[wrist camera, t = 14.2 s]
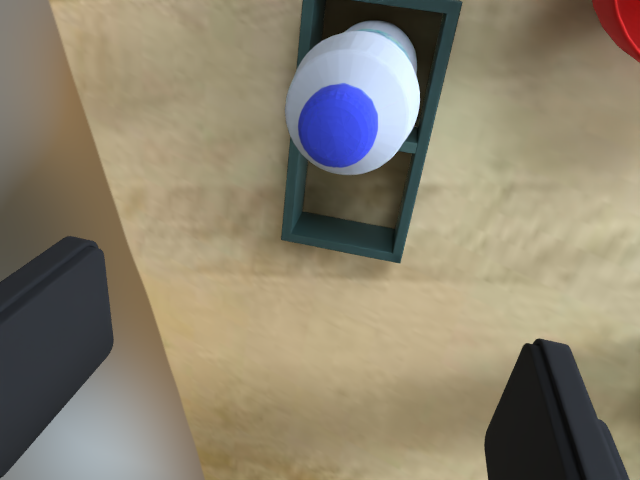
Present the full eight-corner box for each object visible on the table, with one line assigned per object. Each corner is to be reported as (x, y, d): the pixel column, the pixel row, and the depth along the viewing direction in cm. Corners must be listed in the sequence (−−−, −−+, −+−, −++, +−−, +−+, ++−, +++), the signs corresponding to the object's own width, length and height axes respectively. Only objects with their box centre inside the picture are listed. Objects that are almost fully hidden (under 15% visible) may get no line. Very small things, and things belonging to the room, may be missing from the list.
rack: (457, -1, 34) (462, 1, 30) (402, 238, 43) (400, 263, 39) (317, -21, 35) (304, -21, 31) (293, 217, 44) (280, 240, 40)
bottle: (318, 84, 38) (233, 170, 21) (354, -3, 35) (289, 15, 18) (393, 121, 39) (371, 237, 21) (437, 39, 35) (452, 97, 18)
